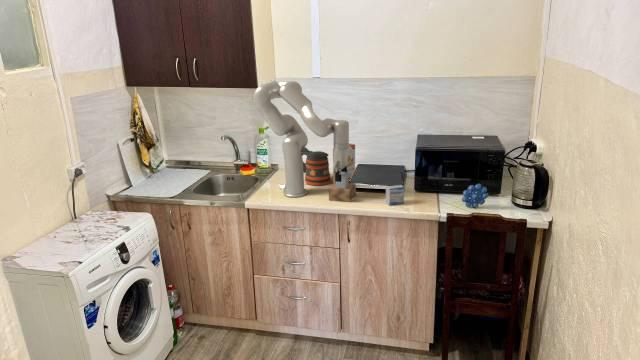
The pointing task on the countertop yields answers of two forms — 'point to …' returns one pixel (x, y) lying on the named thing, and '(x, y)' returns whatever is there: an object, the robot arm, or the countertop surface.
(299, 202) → the countertop surface
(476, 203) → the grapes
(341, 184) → the slate box
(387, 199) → the medicine box
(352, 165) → the cracker box
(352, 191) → the walnut block
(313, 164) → the beer stein
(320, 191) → the countertop surface
